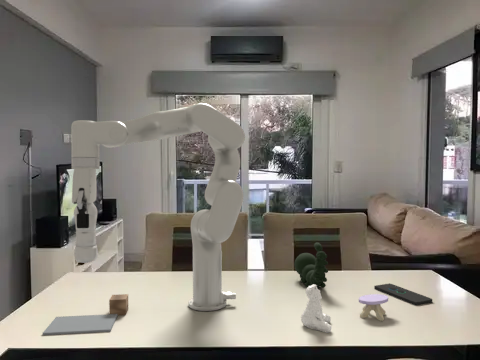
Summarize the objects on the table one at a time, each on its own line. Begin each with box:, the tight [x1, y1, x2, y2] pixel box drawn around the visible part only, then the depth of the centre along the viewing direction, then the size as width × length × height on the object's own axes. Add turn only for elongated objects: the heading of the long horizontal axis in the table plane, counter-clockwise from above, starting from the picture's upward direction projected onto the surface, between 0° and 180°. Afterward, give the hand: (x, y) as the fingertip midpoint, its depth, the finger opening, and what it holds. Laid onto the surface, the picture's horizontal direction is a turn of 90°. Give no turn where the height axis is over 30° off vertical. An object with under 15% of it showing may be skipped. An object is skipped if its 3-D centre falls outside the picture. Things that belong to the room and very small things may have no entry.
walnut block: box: [108, 293, 129, 316], centre depth 129 cm, size 5×5×5 cm
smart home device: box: [373, 283, 433, 306], centre depth 146 cm, size 8×2×20 cm
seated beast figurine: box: [300, 284, 332, 334], centre depth 118 cm, size 10×9×12 cm
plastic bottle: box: [73, 201, 99, 264], centre depth 118 cm, size 6×7×20 cm
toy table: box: [358, 293, 389, 322], centre depth 126 cm, size 10×9×6 cm
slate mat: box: [42, 313, 119, 336], centre depth 119 cm, size 18×12×1 cm, turn 98°
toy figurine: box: [294, 242, 329, 289], centre depth 159 cm, size 9×19×25 cm
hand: (85, 225), depth 118 cm, fingers closed on plastic bottle, 6 cm apart
